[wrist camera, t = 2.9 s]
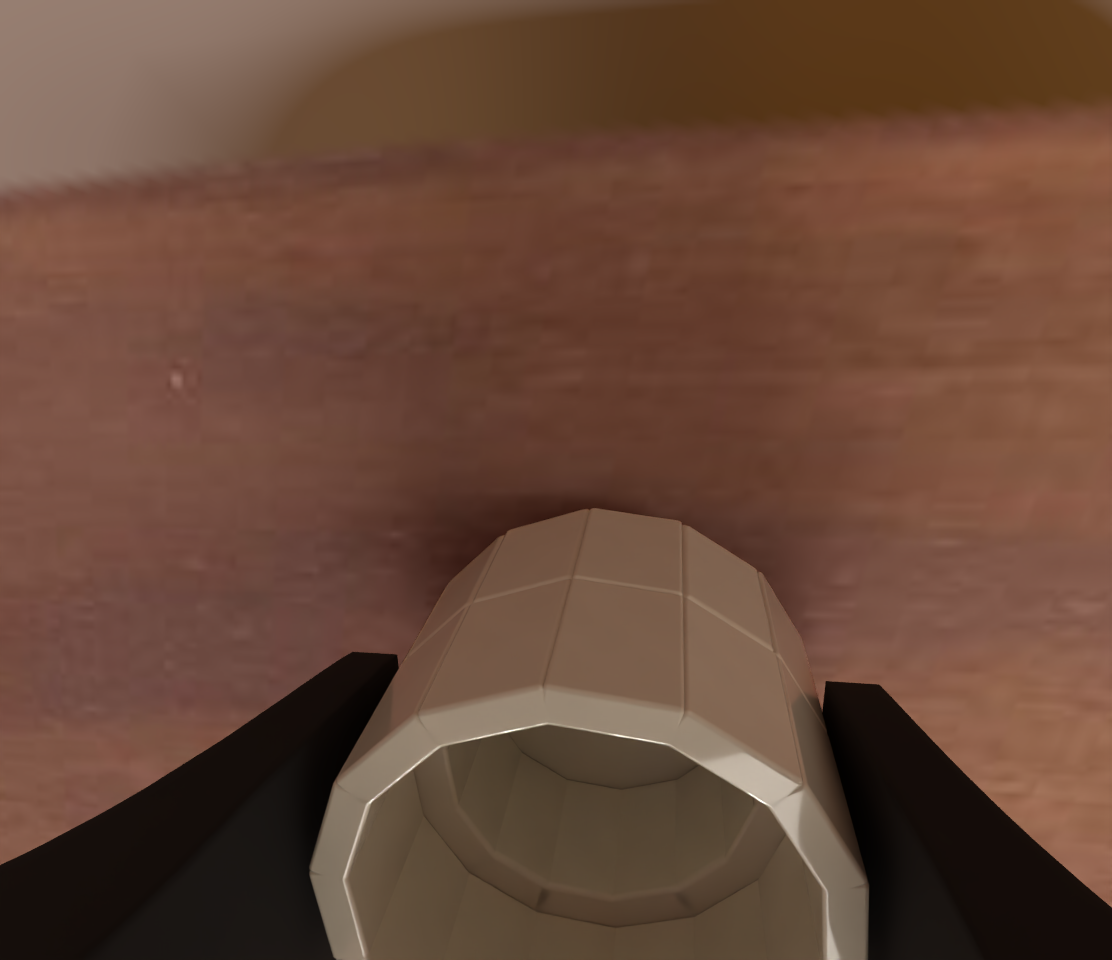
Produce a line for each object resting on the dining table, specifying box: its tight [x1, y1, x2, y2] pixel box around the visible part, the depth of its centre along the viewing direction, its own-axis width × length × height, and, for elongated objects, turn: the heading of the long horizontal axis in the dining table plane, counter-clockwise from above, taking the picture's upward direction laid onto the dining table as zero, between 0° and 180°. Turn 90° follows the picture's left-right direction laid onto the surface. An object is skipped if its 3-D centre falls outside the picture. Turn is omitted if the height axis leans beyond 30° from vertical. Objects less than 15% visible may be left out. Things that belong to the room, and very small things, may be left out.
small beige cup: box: [309, 508, 870, 960], centre depth 9 cm, size 5×5×4 cm
